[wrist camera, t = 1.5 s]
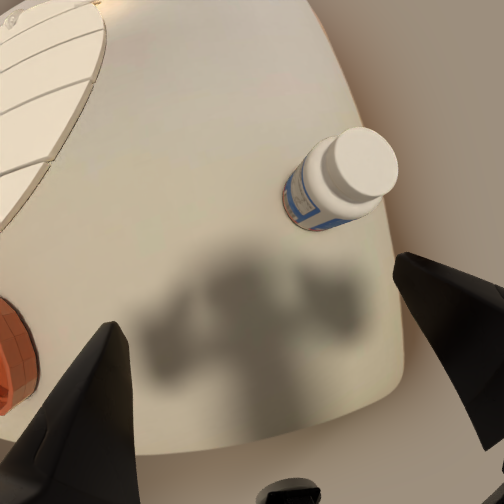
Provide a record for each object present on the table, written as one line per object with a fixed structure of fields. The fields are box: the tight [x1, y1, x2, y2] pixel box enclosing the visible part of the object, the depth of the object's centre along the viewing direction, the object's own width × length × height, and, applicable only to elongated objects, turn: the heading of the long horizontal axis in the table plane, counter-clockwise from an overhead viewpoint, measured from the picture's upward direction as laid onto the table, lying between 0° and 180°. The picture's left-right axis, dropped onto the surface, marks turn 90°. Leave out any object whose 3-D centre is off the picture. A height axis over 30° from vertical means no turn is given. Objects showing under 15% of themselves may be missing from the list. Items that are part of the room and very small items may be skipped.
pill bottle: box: [283, 127, 398, 231], centre depth 18 cm, size 6×5×10 cm
